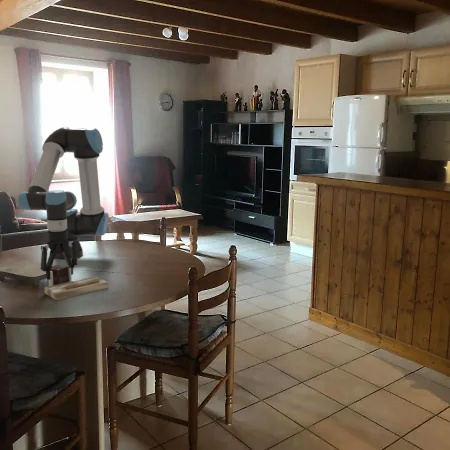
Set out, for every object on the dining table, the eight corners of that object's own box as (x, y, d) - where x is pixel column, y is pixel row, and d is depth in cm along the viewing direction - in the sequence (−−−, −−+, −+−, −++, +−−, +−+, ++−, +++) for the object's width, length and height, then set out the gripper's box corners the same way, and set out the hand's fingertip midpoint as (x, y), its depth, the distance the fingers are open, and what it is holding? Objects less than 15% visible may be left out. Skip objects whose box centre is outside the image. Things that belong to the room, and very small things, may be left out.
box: (69, 283, 196) (68, 266, 194) (58, 287, 190) (57, 270, 189) (57, 281, 198) (57, 264, 197) (47, 285, 193) (46, 268, 191)
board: (44, 293, 185) (44, 285, 185) (95, 281, 200) (95, 274, 200) (56, 300, 178) (55, 291, 178) (108, 287, 193) (108, 280, 193)
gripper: (36, 234, 179) (39, 292, 184) (85, 227, 193) (87, 281, 198) (28, 231, 185) (32, 287, 189) (76, 225, 198) (78, 277, 203)
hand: (60, 284), depth 193 cm, fingers closed on box, 7 cm apart
